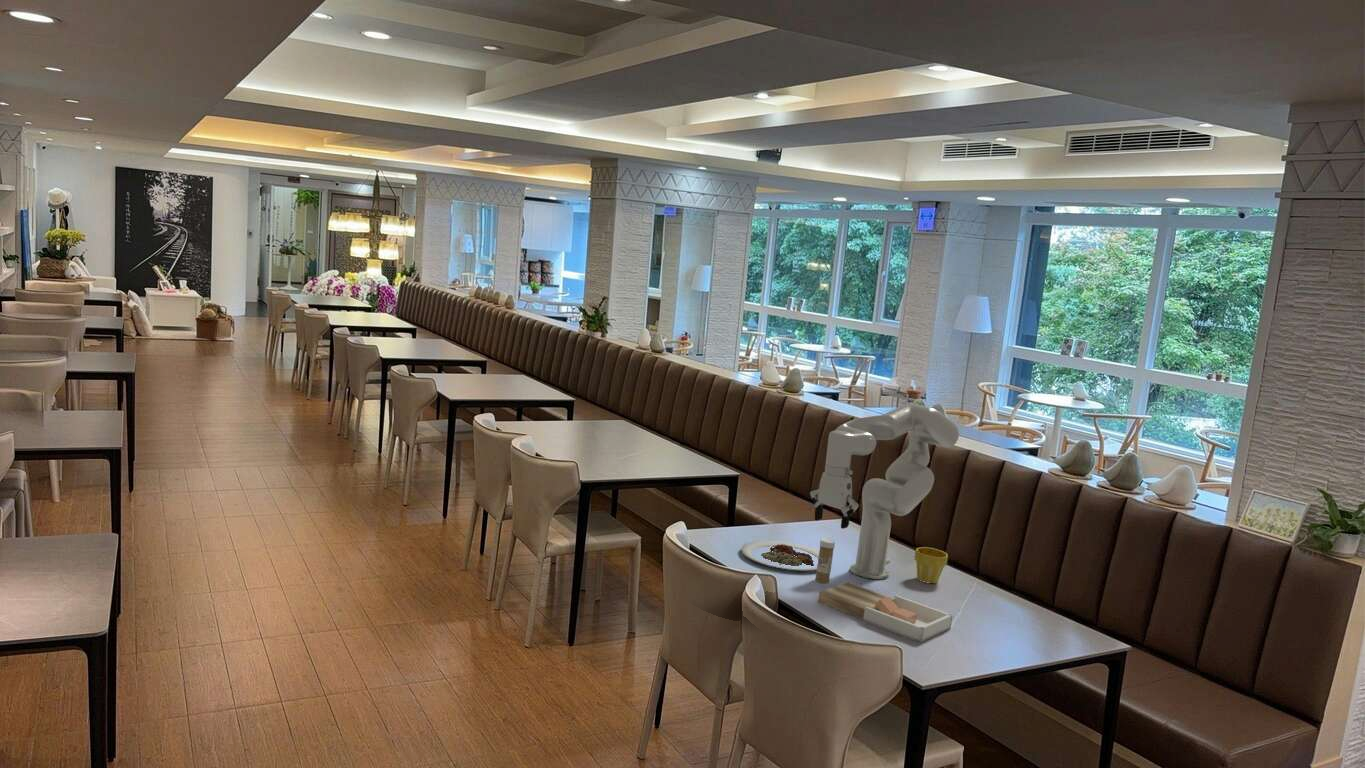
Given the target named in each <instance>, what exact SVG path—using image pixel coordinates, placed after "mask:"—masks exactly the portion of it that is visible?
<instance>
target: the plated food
mask: <svg viewBox="0 0 1365 768" xmlns="http://www.w3.org/2000/svg"><path fill="white" fill-rule="evenodd" d="M770 546H772V547H774V548H772V547H771V548H770V550H771V551H770V552H766V553H762V554H761V556H763V558H765V559H768V560H771V562H772V561H773V562H778V563H780V564H779V565H781V564H785V565H791V566H799V565H802V563H804V564H806V565H811V566H814V564H813V562H814V561H813V560H812V557H811V556H810V555H809V554H805V553H800V552H796V551H795V550H793V548H795V549H800V550H803V551H806V552H808V553H810V554H812V555H814V556H815V557H817V558H819V551H820V549H816V548H813V547H811V546H807V545H804V544H799V543H795V542H791V541H789V542H788V541H781V540H769V539H767V540H766V539H765V540H754V541H749V542H747V543H745V544H744V545H742V546H741V549H740V550H741V553H742V554H743V555H744V556H745V557H746V558H747V559H750V560H752V561H754V562H756V563H759V564H762V565H764V566H768V567H770V566H771V568H774V567H776V568H775V569H778V568H781V569H780V570H784V569H787V570H786V571H791V570H798V571H797V572H809V571H810V572H811V571H817V567H815V568H809V569H792V568H784V567H778V566H774V565H770V564H767V563H764V562H761V561H759V560H757V559H755V558H754V557H753V556H752V555H751V552H752V550H754V549H757V548H761V547H770ZM772 551H773V552H772ZM794 555H795V556H794ZM796 556H797V557H796Z"/></svg>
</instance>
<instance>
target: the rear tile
mask: <svg viewBox="0 0 1365 768" xmlns="http://www.w3.org/2000/svg"><path fill="white" fill-rule="evenodd" d="M891 598H892V597H890V595H889V596H888V595H887V597H885V598H883V599H880V600H879V601H878V602H877V603H876V605H875V606H876V607H877V608H878V609H879V610H880V612H883V613H885V614H888V615H891V616H892V613H893V611H895V610H898V609H900V608H899V607H898V606H897V605H896V604H895V603H894V601H893V600H892V599H891Z"/></svg>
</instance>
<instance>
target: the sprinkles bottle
mask: <svg viewBox="0 0 1365 768" xmlns="http://www.w3.org/2000/svg"><path fill="white" fill-rule="evenodd" d="M835 546H836V542H835V540H833V539H830V538H821V539H820V541H819V558H818V564H817V570H816V574H815V578H814V579H815V582H818V583H820V584H828V583H830V577H831V572H832V565H833V563H832V562H833V557H834V549H835Z"/></svg>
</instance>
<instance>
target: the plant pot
mask: <svg viewBox="0 0 1365 768" xmlns="http://www.w3.org/2000/svg"><path fill="white" fill-rule="evenodd" d="M914 553H915V554H914V560H915V562H916V564H915V566H916V579H917V578H918V579H919V580H921V581H925V582H929V583H936V584H937V583H938V582H939V580H940V577H941V574H942V573H943V570H944V569H945V567H946V566H947V563H948V559H949V558H948V557H949V555H948V553H947V552H945V551H943V550H939V549H937V548H933V547H926V546H922V547H917V548H916V549H915V551H914ZM918 579H917V580H918ZM919 580H918V581H919ZM921 581H920V582H921Z"/></svg>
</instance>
